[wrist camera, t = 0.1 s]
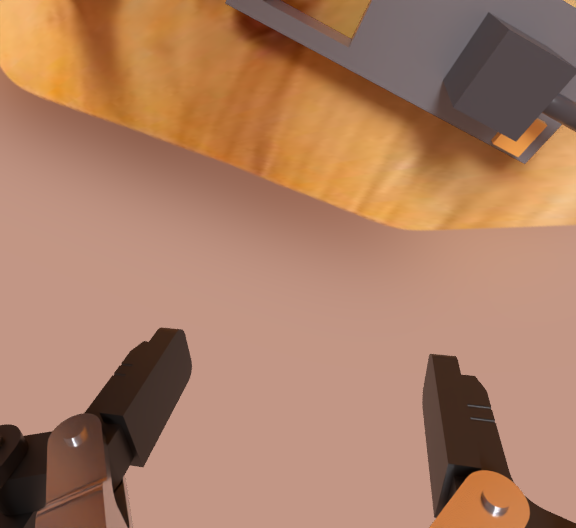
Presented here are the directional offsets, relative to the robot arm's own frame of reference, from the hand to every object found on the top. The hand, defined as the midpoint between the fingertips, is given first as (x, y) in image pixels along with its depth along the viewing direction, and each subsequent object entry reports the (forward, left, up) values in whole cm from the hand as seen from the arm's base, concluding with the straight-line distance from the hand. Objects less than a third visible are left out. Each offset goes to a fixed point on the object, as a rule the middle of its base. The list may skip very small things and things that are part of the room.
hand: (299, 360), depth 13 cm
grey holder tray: (-8, +1, -22) cm, 24 cm away
